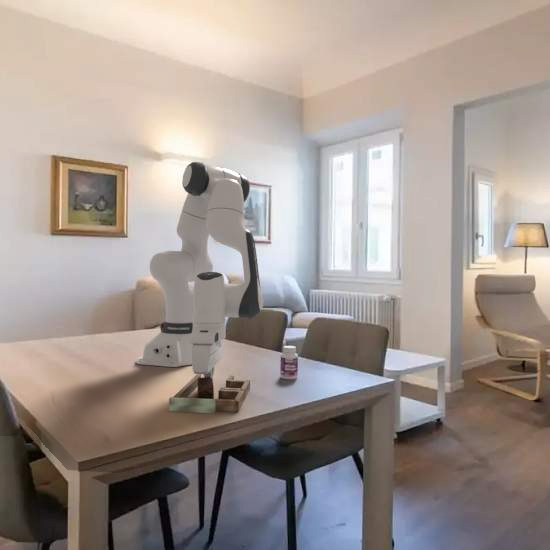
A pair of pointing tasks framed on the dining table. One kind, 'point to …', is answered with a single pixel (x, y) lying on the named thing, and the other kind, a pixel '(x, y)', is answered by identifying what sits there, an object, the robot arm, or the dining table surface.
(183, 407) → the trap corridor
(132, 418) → the dining table surface
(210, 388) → the brick
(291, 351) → the pill bottle
